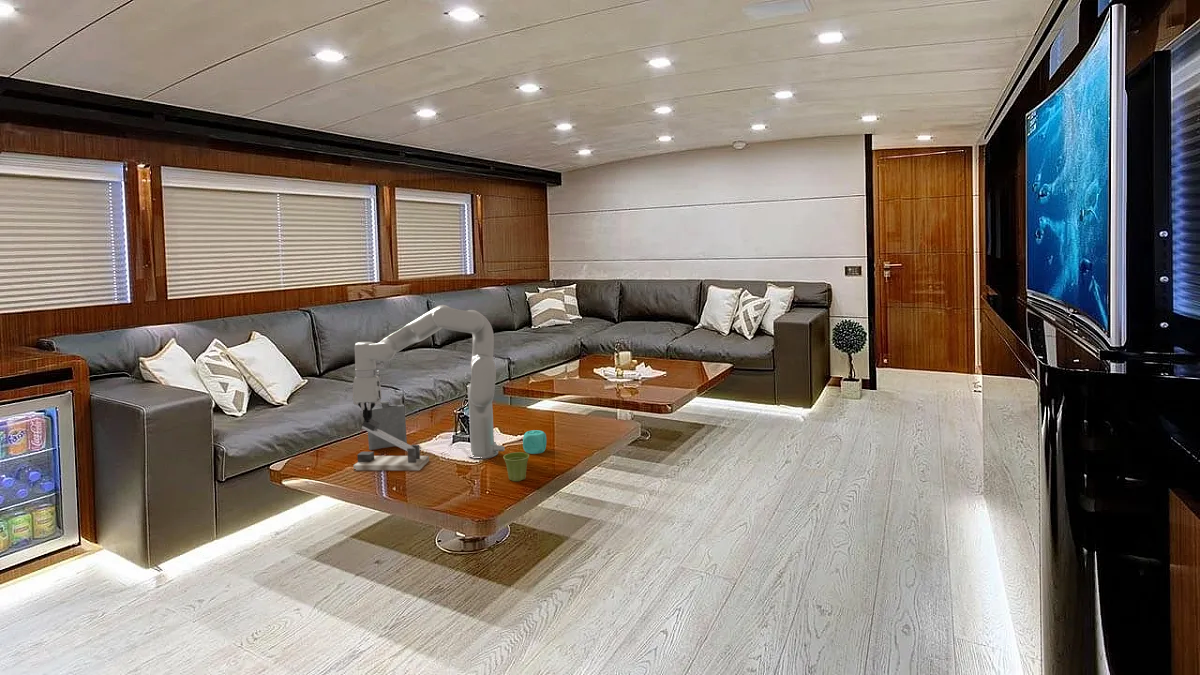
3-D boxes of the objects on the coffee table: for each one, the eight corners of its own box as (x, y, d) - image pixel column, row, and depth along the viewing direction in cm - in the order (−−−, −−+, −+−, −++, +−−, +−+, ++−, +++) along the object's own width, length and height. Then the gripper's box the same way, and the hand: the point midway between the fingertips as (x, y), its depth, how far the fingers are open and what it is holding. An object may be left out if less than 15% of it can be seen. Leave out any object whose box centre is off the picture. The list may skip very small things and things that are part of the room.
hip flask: (369, 450, 284) (366, 404, 282) (368, 447, 288) (365, 402, 285) (407, 444, 291) (404, 400, 289) (405, 442, 295) (403, 398, 292)
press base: (429, 460, 268) (428, 442, 267) (419, 470, 256) (418, 451, 255) (366, 460, 270) (365, 442, 269) (353, 470, 258) (352, 451, 257)
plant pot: (529, 482, 240) (528, 459, 239) (503, 483, 239) (502, 460, 238) (530, 474, 249) (529, 451, 248) (505, 475, 249) (504, 452, 247)
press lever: (415, 450, 264) (418, 442, 264) (410, 454, 259) (414, 446, 259) (365, 425, 264) (369, 417, 264) (360, 428, 259) (363, 421, 259)
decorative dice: (541, 454, 273) (541, 435, 272) (523, 453, 275) (522, 434, 274) (546, 448, 281) (546, 430, 280) (528, 448, 283) (528, 429, 282)
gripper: (388, 372, 262) (390, 417, 264) (351, 371, 263) (353, 416, 265) (380, 375, 255) (382, 422, 257) (342, 374, 256) (345, 421, 258)
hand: (367, 419), depth 261 cm, fingers closed
